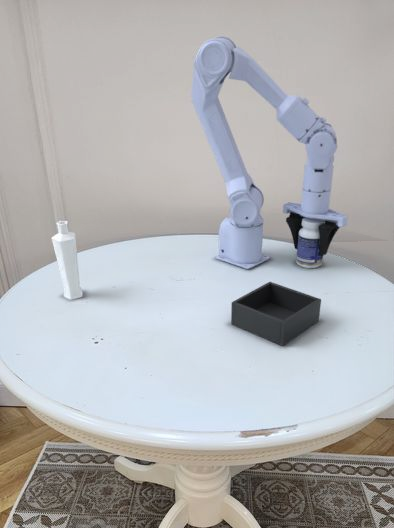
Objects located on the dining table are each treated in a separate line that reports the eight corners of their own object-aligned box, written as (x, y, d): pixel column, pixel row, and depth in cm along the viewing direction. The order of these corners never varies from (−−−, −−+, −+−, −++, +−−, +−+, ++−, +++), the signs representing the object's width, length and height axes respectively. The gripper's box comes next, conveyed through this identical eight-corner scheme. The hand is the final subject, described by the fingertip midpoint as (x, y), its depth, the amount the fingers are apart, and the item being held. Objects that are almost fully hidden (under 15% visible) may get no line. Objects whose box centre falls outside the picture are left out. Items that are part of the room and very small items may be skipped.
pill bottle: (322, 269, 115) (327, 225, 109) (295, 268, 116) (298, 223, 110) (322, 259, 120) (326, 215, 114) (296, 257, 121) (299, 214, 115)
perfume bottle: (90, 294, 107) (80, 221, 99) (72, 302, 104) (60, 228, 96) (76, 287, 110) (65, 216, 102) (58, 295, 107) (45, 222, 99)
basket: (231, 324, 95) (231, 302, 93) (268, 302, 102) (269, 281, 100) (282, 346, 89) (284, 322, 87) (318, 321, 96) (321, 299, 93)
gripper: (358, 190, 107) (349, 254, 114) (298, 178, 115) (293, 238, 123) (340, 198, 103) (332, 264, 110) (278, 185, 111) (275, 247, 118)
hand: (310, 251), depth 116 cm, fingers closed on pill bottle, 5 cm apart
